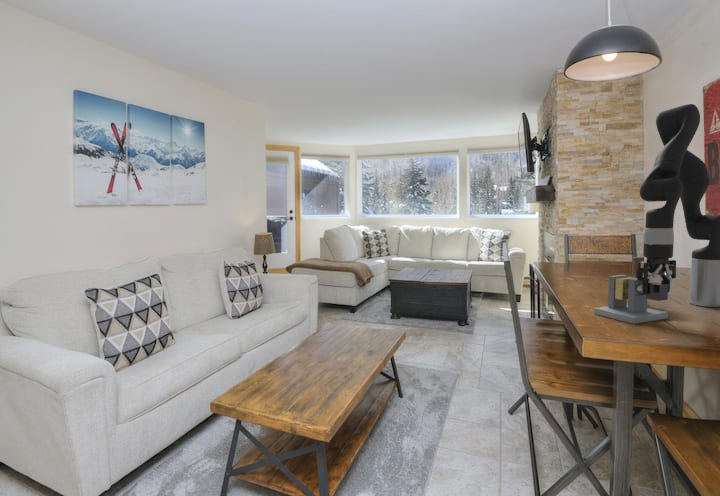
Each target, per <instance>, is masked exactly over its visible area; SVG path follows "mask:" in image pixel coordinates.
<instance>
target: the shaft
mask: <svg viewBox="0 0 720 496" xmlns="http://www.w3.org/2000/svg"><path fill="white" fill-rule="evenodd" d="M651 283H652V285H651V294H650V295H646V299H647V300H651V301H656V302H657V301H658V302H661V301H668V299H669V298H668V297H669V292H668V284H664V283H661V282H656V281H654V282H651ZM628 284H629V283H626V290H627V291H628ZM642 287H643V285H641V284H637V288H636V292H638V293H643V292H642Z"/></svg>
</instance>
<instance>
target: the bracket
mask: <svg viewBox="0 0 720 496" xmlns="http://www.w3.org/2000/svg"><path fill="white" fill-rule="evenodd" d="M625 277H629V275H627V274H618V275H609V276H608V302H607V306H600V307H594V308H593V313H594V315H597V316H602V317H605V318H610V319H613V320H617V321H620V322H624V323H630V324H632V325H635V324H642V323H646V322H652V321H659V320H666V319H668V317H669V312H668V311H664V310H659V309H654V308H649V307H648V299H646V294H643V293H640V294H636V288H637V283H638V282H640V284H641V285H643V282H641V281H639V280H637V278H634V279H629V284H628V299H626V300H620V299H615V290H616V278H625ZM625 293H627V290H626V291H625Z"/></svg>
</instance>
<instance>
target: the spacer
mask: <svg viewBox="0 0 720 496" xmlns="http://www.w3.org/2000/svg"><path fill="white" fill-rule="evenodd" d="M634 278H635V277H632V276H628V277H625V278H616V290H615V299H620V300H626V299H627V300H628V291H627V293H625V291H626V283H629V279H634ZM636 294H637V292H636Z"/></svg>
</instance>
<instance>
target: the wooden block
mask: <svg viewBox="0 0 720 496" xmlns="http://www.w3.org/2000/svg"><path fill="white" fill-rule="evenodd" d="M639 262H645V257H644V256H633V257H632V261H631V263H632V264H631V265H632V266H631V277H635V278H637V274H638V263H639ZM643 275H644V274H643V273H642V276H641V277H643ZM637 284H640V282H638V283H637ZM637 294H640V293H638V292H637Z"/></svg>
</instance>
